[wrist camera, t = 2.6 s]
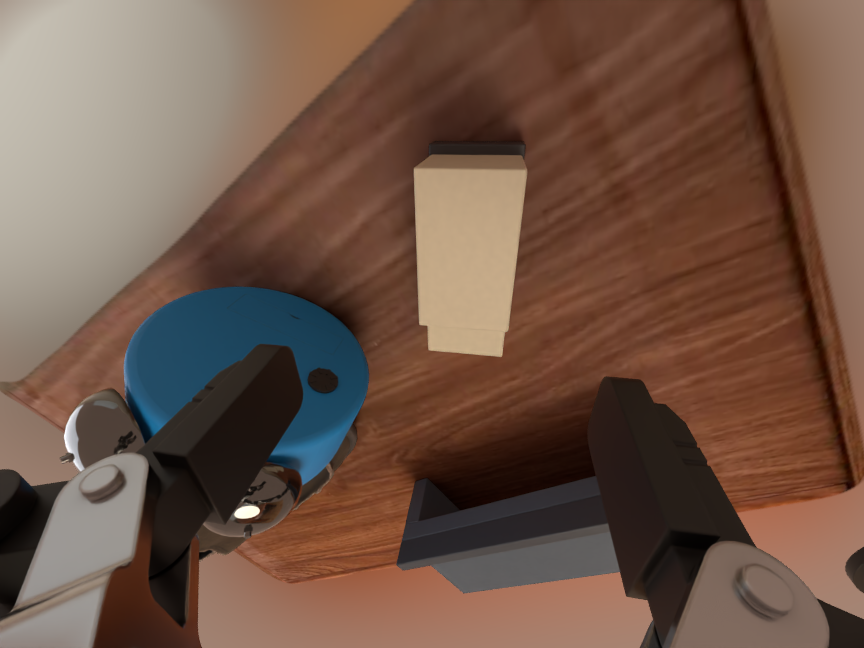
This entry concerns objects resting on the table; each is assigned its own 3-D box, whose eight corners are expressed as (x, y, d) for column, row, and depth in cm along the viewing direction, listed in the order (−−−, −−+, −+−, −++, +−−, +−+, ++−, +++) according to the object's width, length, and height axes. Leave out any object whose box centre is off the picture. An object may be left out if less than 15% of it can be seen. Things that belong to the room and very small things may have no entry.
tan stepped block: (433, 141, 20) (410, 154, 15) (524, 141, 19) (531, 155, 14) (434, 322, 26) (418, 375, 21) (503, 328, 26) (503, 383, 21)
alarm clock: (224, 318, 30) (20, 479, 17) (234, 257, 26) (-10, 400, 14) (367, 386, 31) (276, 581, 19) (394, 336, 28) (304, 532, 15)
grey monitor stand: (634, 410, 28) (676, 509, 21) (679, 485, 31) (728, 591, 24) (415, 481, 37) (395, 565, 30) (468, 532, 41) (461, 618, 34)
